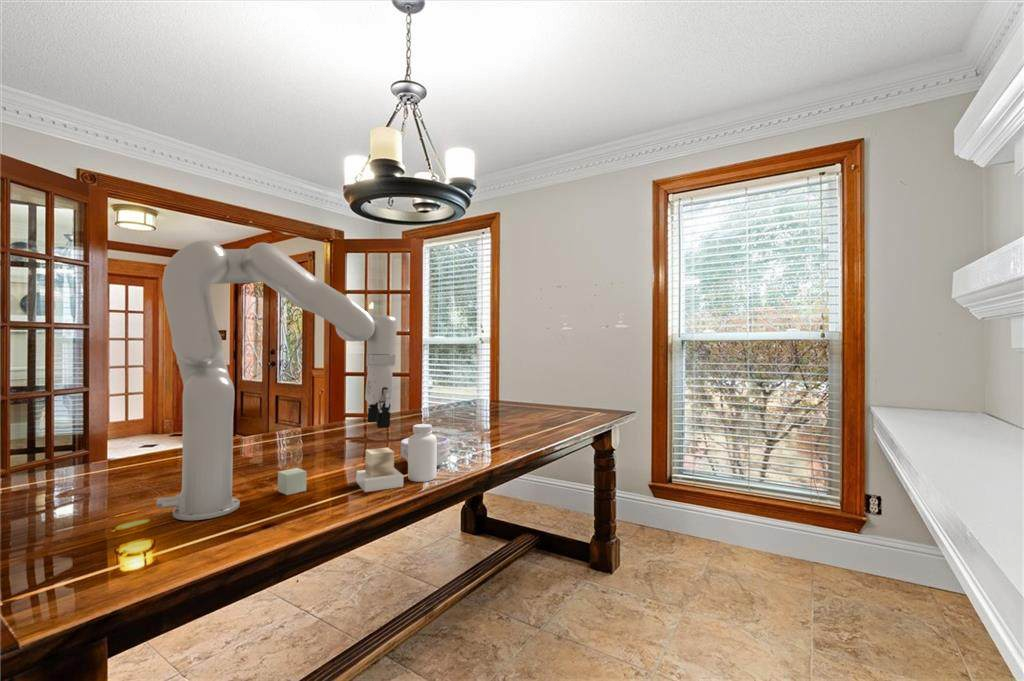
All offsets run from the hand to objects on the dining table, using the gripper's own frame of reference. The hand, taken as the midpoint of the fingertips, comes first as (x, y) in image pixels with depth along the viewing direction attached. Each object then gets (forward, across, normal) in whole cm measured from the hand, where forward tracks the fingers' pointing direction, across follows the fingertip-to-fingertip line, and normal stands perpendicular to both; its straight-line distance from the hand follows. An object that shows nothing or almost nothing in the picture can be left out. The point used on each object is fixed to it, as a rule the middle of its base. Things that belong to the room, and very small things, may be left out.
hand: (378, 424), depth 127 cm
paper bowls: (+16, -14, +19) cm, 28 cm away
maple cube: (+13, 0, +1) cm, 13 cm away
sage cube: (+17, -5, -20) cm, 27 cm away
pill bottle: (+16, 0, +13) cm, 21 cm away
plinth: (+16, 0, +1) cm, 16 cm away
